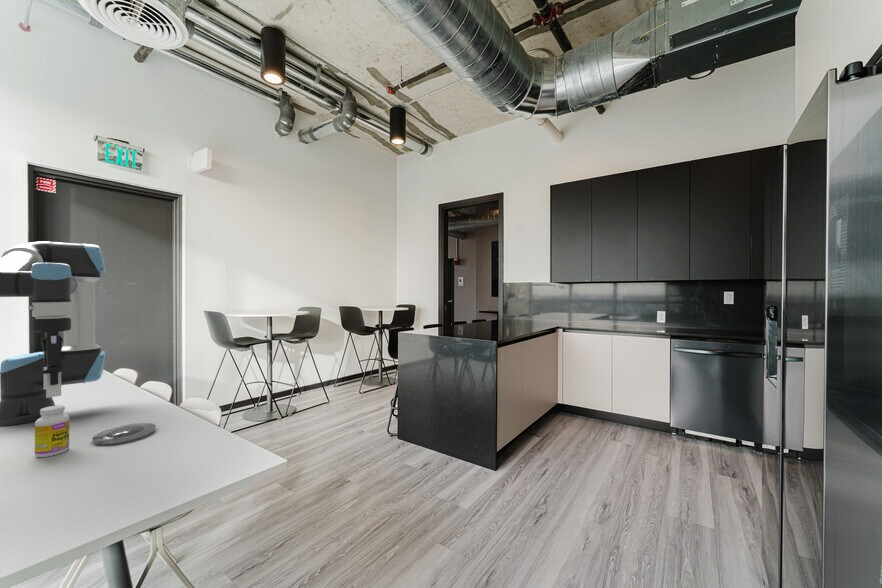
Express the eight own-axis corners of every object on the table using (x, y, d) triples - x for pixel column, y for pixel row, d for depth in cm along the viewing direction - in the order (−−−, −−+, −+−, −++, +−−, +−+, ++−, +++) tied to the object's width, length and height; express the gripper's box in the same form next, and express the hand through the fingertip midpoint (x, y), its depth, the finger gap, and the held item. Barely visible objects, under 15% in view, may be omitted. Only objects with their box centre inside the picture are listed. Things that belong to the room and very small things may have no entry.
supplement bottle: (50, 458, 97) (50, 411, 97) (27, 458, 97) (26, 411, 97) (76, 447, 103) (76, 404, 103) (54, 447, 104) (54, 403, 104)
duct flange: (77, 445, 105) (77, 441, 105) (122, 426, 120) (122, 422, 120) (128, 445, 105) (128, 440, 105) (167, 426, 120) (167, 422, 120)
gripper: (30, 316, 105) (30, 387, 105) (33, 319, 89) (33, 403, 89) (67, 315, 111) (67, 382, 111) (75, 318, 95) (75, 397, 95)
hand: (52, 392), depth 100 cm, fingers open, 13 cm apart
